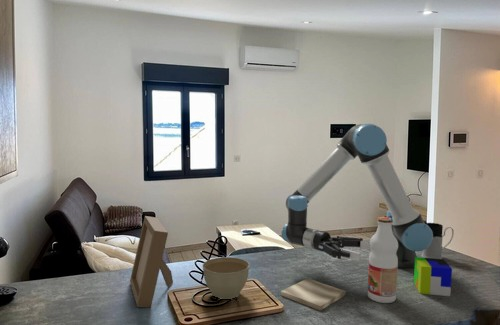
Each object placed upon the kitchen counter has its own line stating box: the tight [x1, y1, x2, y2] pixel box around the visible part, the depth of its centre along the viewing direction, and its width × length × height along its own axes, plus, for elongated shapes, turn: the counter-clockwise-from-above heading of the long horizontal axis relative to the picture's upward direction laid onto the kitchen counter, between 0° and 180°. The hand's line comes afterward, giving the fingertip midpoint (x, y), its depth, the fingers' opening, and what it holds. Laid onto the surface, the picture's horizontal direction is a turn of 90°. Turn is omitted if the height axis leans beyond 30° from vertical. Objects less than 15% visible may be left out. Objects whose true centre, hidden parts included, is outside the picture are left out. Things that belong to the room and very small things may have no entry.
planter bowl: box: [202, 256, 251, 300], centre depth 133 cm, size 16×16×11 cm
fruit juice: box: [367, 216, 399, 304], centre depth 131 cm, size 9×9×28 cm
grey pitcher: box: [421, 222, 455, 259], centre depth 176 cm, size 9×14×15 cm, turn 96°
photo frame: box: [129, 215, 174, 308], centre depth 133 cm, size 15×22×25 cm
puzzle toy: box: [413, 256, 453, 297], centre depth 140 cm, size 10×10×10 cm
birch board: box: [280, 278, 346, 312], centre depth 134 cm, size 16×16×2 cm
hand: (369, 252), depth 134 cm, fingers open, 13 cm apart
